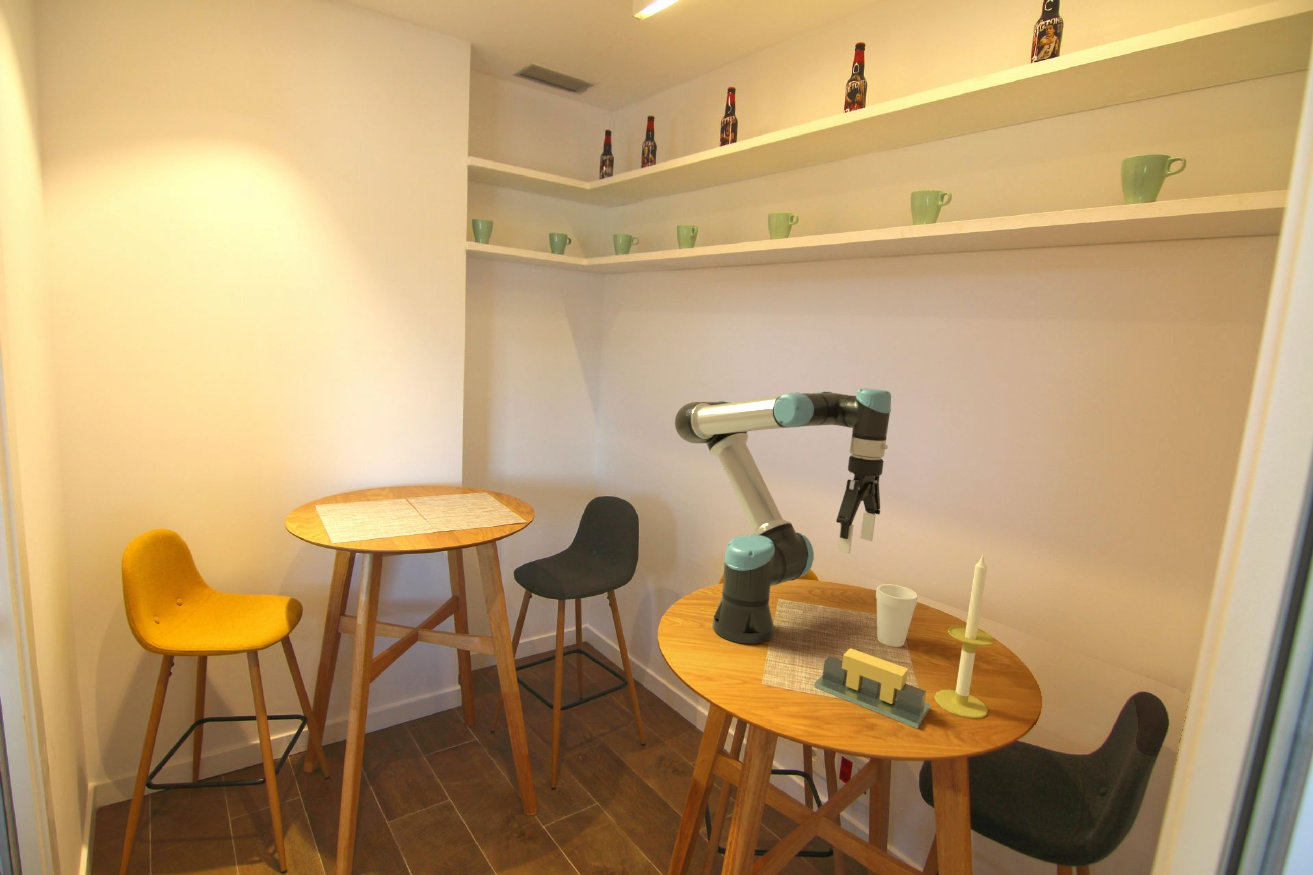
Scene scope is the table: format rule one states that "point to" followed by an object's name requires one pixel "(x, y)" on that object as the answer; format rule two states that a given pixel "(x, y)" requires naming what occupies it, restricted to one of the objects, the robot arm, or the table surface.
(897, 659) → the table surface
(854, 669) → the yellow arch-shaped block
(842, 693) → the rail
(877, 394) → the robot arm
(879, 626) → the foam cup
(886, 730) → the table surface
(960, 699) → the candle
